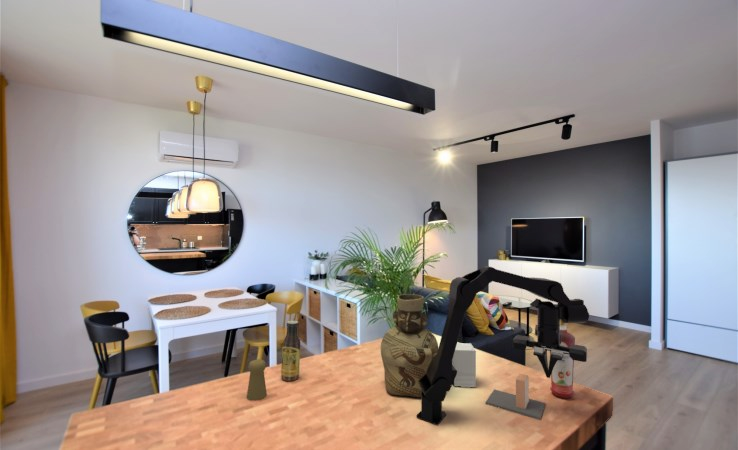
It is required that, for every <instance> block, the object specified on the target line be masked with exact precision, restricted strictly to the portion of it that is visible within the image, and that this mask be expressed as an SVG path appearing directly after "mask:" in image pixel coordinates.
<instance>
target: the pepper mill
mask: <svg viewBox="0 0 738 450" xmlns="http://www.w3.org/2000/svg"><path fill="white" fill-rule="evenodd" d="M266 367H267V366H266V361H265V360H264V359H259V358H258V359H254V360H251V361H250V362H249V363H248V372H249V377H248V378H249V379H248V385H247V392H246V399H247V400H248V401H252V402H253V401H259V400H262V399H265V398H266V397H267V395H268V394H267V385H266V377H265V370H266Z"/></svg>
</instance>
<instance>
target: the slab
mask: <svg viewBox="0 0 738 450" xmlns="http://www.w3.org/2000/svg"><path fill="white" fill-rule="evenodd" d="M529 379H530V376H529V375H527V374H523V373H518V375H517V377H516V378H515V395H516V407H519V408H523V409H525V408H526V407H527V404H528V402H529V399H530V397H529V396H530V395H529V393H530V392H529V390H530V388H529V387H530V381H529Z"/></svg>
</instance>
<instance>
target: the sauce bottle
mask: <svg viewBox="0 0 738 450" xmlns="http://www.w3.org/2000/svg"><path fill="white" fill-rule="evenodd" d="M298 329H299V321H297V320H287V322H286V335H285V337H284V339H283V343H282V351H281V370H280V371H281V372H280V374H281V380H282V381H285V382H290V381H291V382H294V381H295V380H297V379H298V378H299V375H300V364H301V363H300V362H301V361H300V360H301V359H300V358H301V339H300V337H299V335H298V333H299V330H298Z"/></svg>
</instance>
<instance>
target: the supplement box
mask: <svg viewBox="0 0 738 450" xmlns="http://www.w3.org/2000/svg"><path fill="white" fill-rule="evenodd" d="M476 356H477V351H476V349H475V348H474V346H473V345H472V343H471V342H469V343H467V342H466V343H462V342H457V345H456V349H455V352H454V356H453V360H452V365H453V366H454V368H455V369H456V370H457V375H456V377H455V380H454V386H461V387H460V388H470V387H477V386H476V385H477V384H476V383H477V381H476V379H477V370H476V369H477V368H476V367H477V366H476V365H477V363H476V362H477V360H476V359H477V358H476ZM454 386H453V387H454Z"/></svg>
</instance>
